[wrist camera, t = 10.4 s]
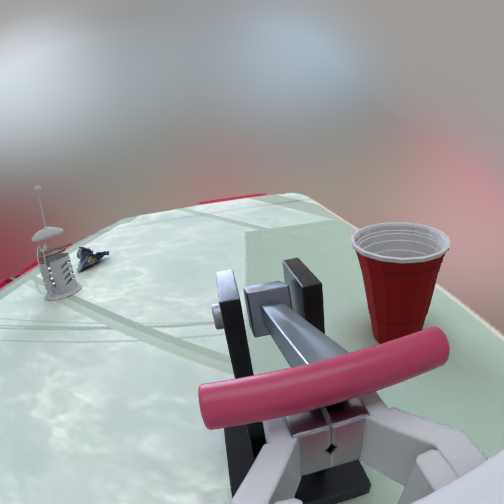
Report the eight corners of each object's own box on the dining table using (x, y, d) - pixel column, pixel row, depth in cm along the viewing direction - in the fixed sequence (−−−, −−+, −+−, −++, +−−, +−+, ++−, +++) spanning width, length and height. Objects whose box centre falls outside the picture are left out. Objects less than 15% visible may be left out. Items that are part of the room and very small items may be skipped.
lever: (449, 391, 7) (449, 303, 7) (214, 461, 6) (188, 367, 6) (315, 312, 19) (310, 274, 19) (218, 332, 19) (210, 292, 19)
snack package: (66, 270, 84) (82, 273, 77) (63, 248, 83) (78, 249, 76) (99, 263, 93) (118, 265, 87) (97, 243, 92) (115, 243, 86)
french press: (86, 281, 71) (62, 178, 63) (73, 299, 60) (43, 181, 52) (52, 287, 69) (28, 189, 62) (36, 306, 58) (6, 193, 51)
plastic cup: (367, 372, 29) (369, 257, 26) (342, 321, 39) (338, 228, 36) (457, 348, 28) (471, 241, 25) (418, 306, 39) (421, 218, 35)
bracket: (369, 492, 16) (398, 305, 12) (238, 524, 15) (169, 354, 11) (320, 392, 28) (310, 237, 23) (224, 413, 27) (186, 259, 23)
